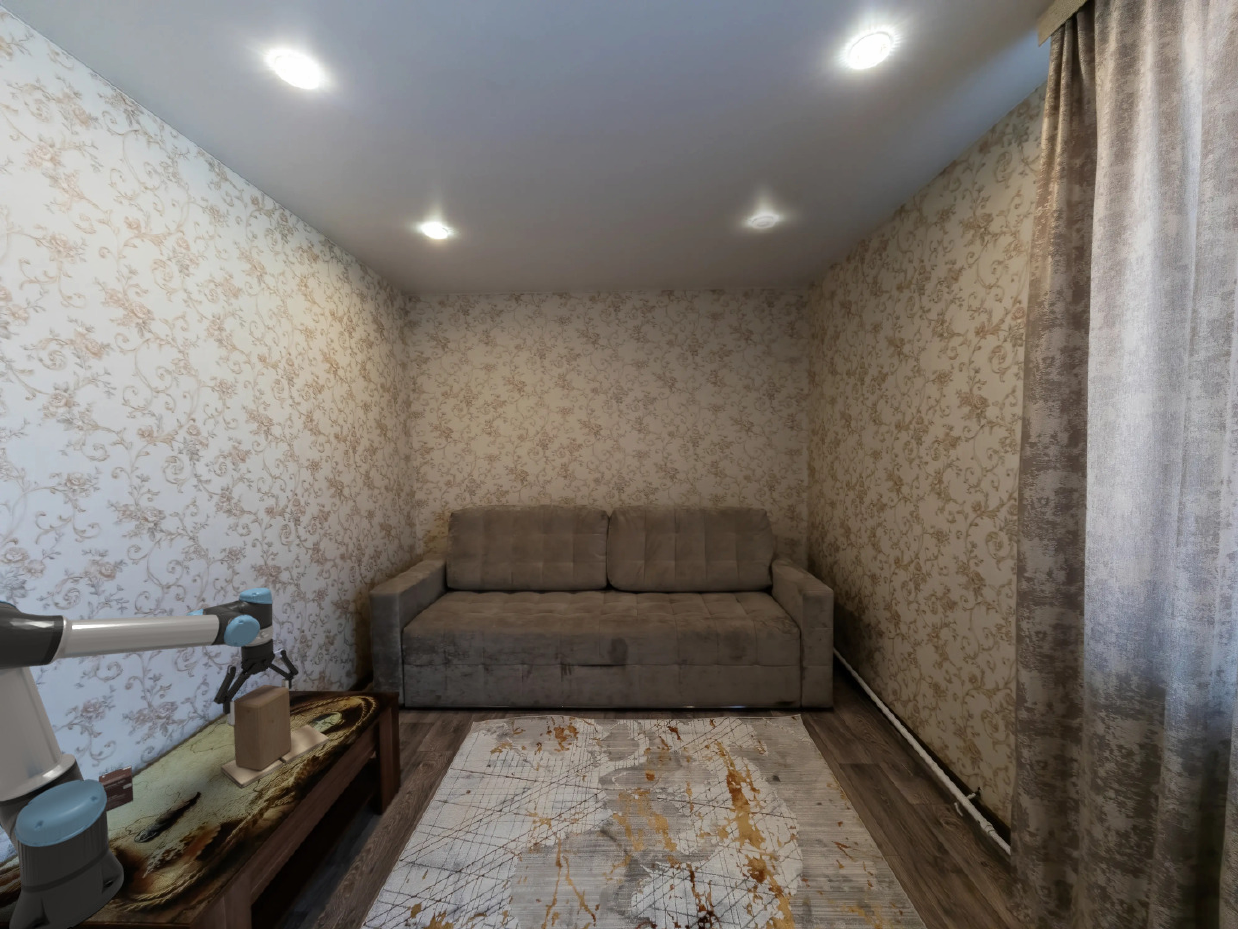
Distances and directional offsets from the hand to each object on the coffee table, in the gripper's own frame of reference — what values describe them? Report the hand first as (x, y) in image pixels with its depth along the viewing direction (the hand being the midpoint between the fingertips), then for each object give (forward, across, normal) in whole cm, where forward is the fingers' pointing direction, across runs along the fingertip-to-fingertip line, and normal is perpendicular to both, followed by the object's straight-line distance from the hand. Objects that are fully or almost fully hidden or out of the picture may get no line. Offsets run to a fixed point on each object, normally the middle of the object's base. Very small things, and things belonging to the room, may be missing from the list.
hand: (259, 711), depth 136 cm
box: (+17, -26, +17) cm, 35 cm away
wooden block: (+15, +1, 0) cm, 15 cm away
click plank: (+16, -2, 0) cm, 16 cm away
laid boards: (+16, +10, 0) cm, 19 cm away
